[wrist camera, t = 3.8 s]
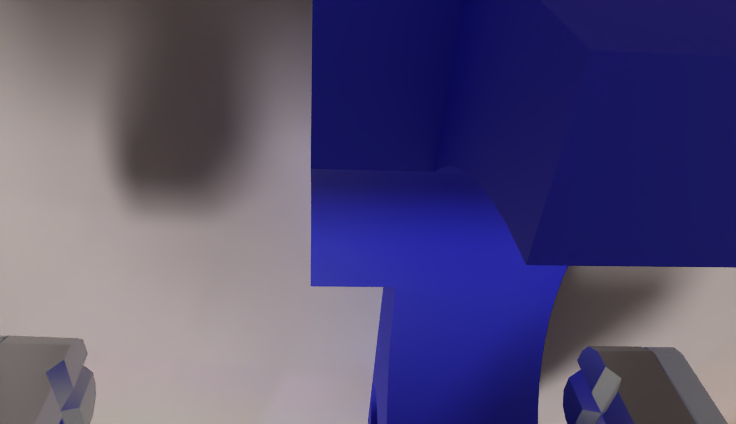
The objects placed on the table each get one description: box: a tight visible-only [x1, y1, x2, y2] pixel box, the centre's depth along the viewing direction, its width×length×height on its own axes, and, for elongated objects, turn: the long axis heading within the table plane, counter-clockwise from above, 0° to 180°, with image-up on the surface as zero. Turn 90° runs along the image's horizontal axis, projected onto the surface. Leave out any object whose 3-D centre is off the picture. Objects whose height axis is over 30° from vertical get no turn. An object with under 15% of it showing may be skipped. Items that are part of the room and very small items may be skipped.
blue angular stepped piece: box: [311, 0, 736, 424], centre depth 9 cm, size 12×4×6 cm, turn 176°
